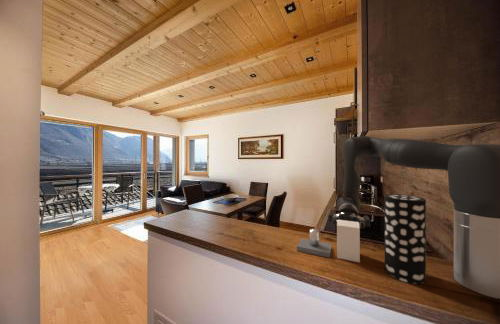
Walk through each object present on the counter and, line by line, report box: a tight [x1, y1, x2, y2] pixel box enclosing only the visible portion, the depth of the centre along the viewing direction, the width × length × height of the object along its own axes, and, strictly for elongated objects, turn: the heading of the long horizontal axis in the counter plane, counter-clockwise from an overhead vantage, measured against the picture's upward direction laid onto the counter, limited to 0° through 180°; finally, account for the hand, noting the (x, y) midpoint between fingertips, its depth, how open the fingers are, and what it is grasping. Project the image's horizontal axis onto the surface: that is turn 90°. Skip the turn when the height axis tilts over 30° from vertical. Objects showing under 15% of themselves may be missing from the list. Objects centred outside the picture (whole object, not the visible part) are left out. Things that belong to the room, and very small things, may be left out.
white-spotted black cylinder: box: [384, 194, 427, 285], centre depth 50 cm, size 8×8×20 cm
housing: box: [336, 220, 361, 263], centre depth 59 cm, size 6×6×10 cm
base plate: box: [296, 228, 332, 259], centre depth 63 cm, size 10×7×6 cm
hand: (348, 224), depth 69 cm, fingers open, 8 cm apart
